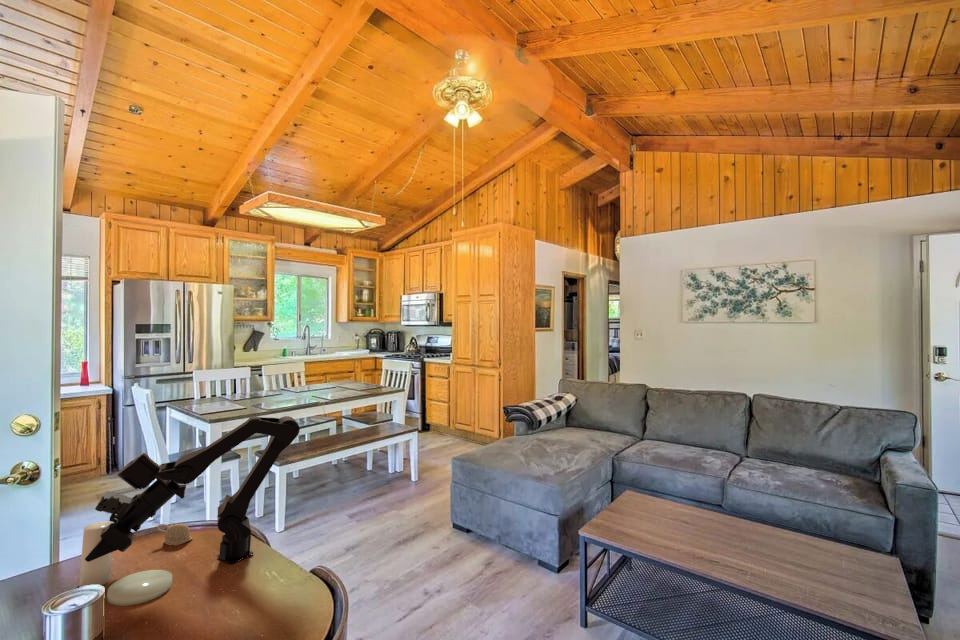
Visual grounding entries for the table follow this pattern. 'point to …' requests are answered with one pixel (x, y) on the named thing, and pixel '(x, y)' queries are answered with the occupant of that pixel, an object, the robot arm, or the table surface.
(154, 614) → the table surface
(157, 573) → the sage dish
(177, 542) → the decorative ornament
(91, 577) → the tall beige pillar
